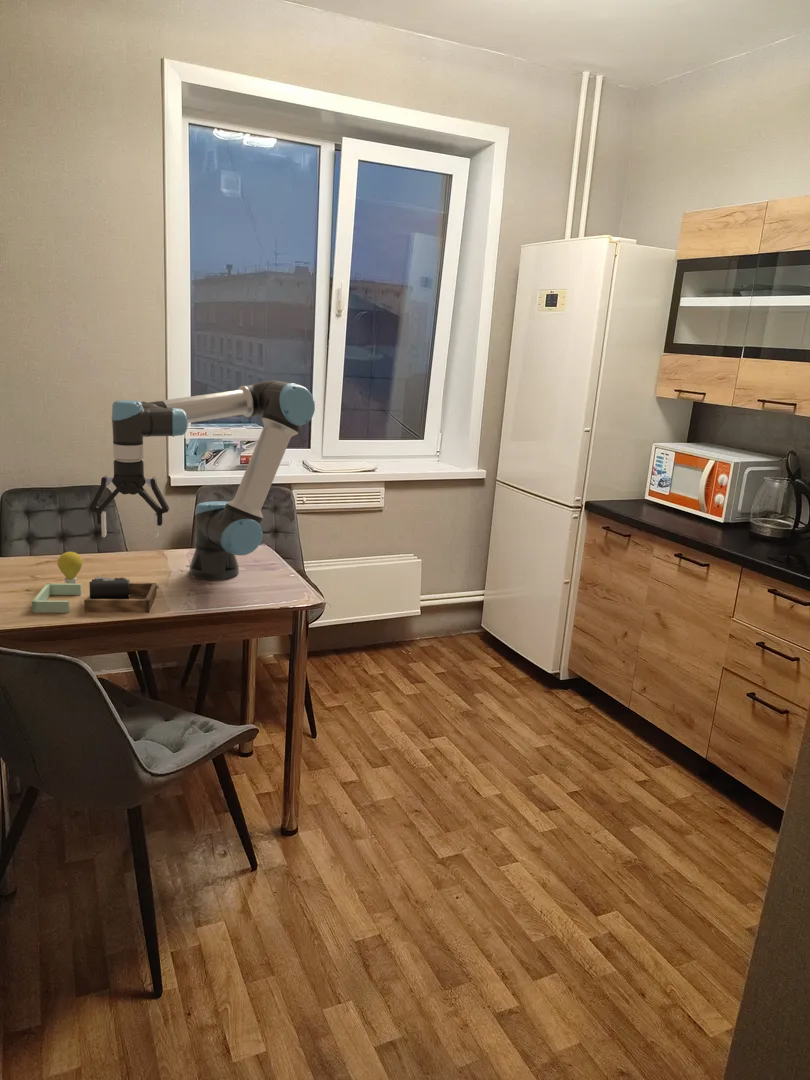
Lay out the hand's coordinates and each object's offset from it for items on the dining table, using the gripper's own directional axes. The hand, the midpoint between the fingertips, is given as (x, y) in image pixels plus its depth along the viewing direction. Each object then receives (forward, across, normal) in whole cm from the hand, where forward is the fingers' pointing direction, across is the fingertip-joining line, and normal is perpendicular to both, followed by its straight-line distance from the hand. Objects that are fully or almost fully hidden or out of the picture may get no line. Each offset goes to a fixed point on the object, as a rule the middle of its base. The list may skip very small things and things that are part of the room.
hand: (130, 536), depth 208 cm
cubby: (+19, +3, +1) cm, 19 cm away
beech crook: (+19, -1, -10) cm, 21 cm away
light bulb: (+19, +19, -14) cm, 31 cm away
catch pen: (+19, +19, +1) cm, 27 cm away
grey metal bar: (+19, +8, -17) cm, 27 cm away
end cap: (+19, +6, +1) cm, 20 cm away
